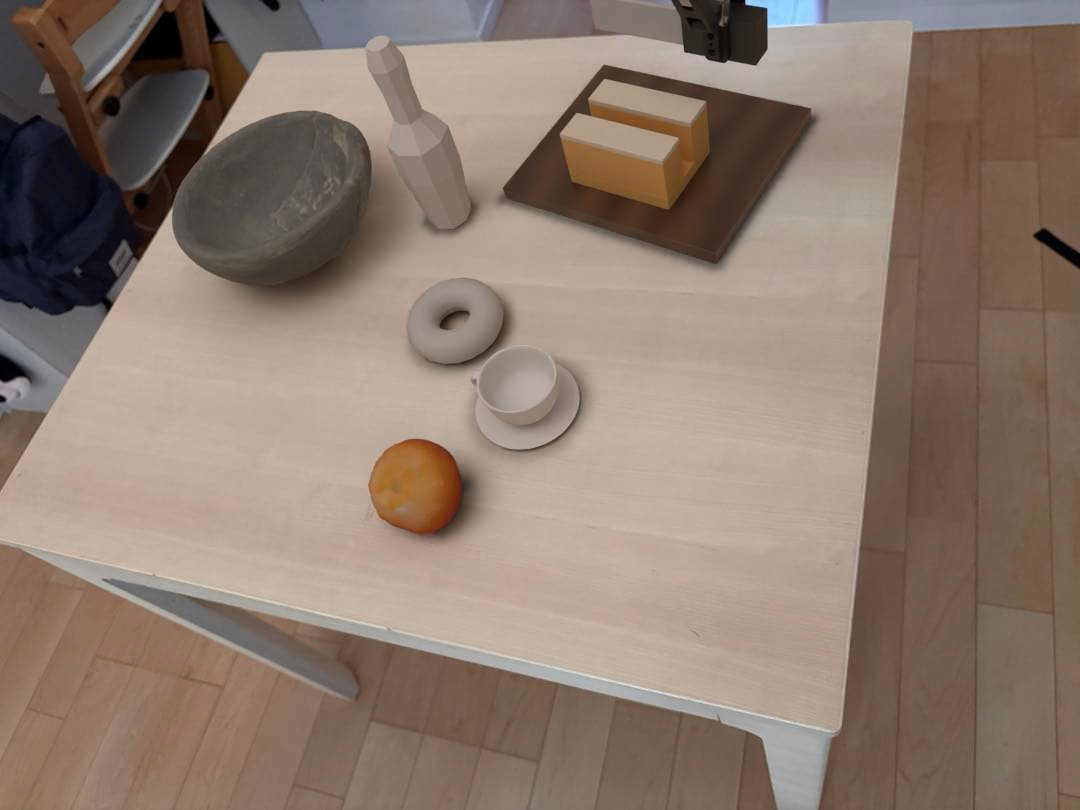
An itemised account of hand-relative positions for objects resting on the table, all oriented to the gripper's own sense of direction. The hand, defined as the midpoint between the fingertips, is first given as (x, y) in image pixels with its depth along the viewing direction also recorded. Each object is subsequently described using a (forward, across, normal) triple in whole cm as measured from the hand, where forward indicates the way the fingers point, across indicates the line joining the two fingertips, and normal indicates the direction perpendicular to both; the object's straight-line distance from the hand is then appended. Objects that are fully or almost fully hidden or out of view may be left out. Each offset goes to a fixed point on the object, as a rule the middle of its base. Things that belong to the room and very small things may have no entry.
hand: (726, 47), depth 76 cm
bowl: (+17, -24, +43) cm, 52 cm away
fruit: (+17, -44, +8) cm, 48 cm away
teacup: (+17, -32, +5) cm, 37 cm away
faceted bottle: (+17, -14, +28) cm, 35 cm away
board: (+17, +1, +10) cm, 20 cm away
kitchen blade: (0, 0, +5) cm, 5 cm away
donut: (+17, -27, +17) cm, 36 cm away
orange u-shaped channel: (+15, -2, +10) cm, 18 cm away
